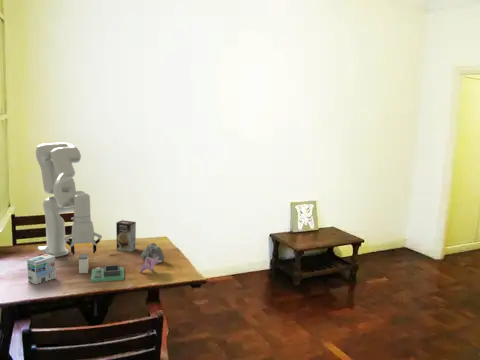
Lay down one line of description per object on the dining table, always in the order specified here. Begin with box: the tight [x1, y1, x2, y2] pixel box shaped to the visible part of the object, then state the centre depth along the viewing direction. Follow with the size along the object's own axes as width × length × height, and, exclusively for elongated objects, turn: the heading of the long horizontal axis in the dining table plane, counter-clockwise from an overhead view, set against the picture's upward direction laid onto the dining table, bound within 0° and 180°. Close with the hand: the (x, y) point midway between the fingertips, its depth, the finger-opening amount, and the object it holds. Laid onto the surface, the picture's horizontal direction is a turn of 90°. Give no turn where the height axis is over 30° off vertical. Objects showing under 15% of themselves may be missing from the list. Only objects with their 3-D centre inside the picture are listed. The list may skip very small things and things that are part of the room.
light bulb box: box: [26, 253, 57, 285], centre depth 220 cm, size 11×7×11 cm, turn 148°
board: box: [90, 264, 125, 283], centre depth 228 cm, size 15×14×4 cm
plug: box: [78, 253, 89, 274], centre depth 232 cm, size 4×5×8 cm
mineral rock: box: [140, 242, 165, 265], centre depth 250 cm, size 13×11×10 cm
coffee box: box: [115, 219, 137, 253], centre depth 267 cm, size 9×6×16 cm
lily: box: [138, 257, 161, 277], centre depth 231 cm, size 12×12×10 cm
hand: (83, 253), depth 231 cm, fingers open, 9 cm apart
